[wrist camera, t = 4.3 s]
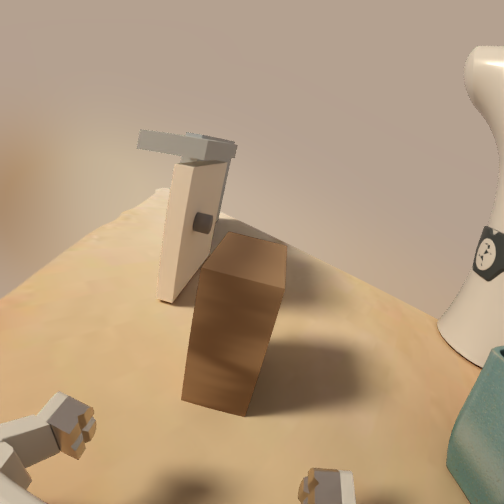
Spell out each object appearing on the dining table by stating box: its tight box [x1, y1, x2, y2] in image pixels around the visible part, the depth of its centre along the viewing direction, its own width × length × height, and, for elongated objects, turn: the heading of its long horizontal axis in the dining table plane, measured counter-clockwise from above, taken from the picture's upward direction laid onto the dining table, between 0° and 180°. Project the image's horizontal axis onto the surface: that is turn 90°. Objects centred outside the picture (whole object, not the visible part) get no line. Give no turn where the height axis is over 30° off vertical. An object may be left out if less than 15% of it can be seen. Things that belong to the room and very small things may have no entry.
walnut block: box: [181, 232, 287, 417], centre depth 19 cm, size 4×7×9 cm, turn 173°
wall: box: [137, 130, 237, 222], centre depth 42 cm, size 6×34×15 cm, turn 173°
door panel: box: [156, 160, 228, 303], centre depth 32 cm, size 3×14×12 cm, turn 173°
